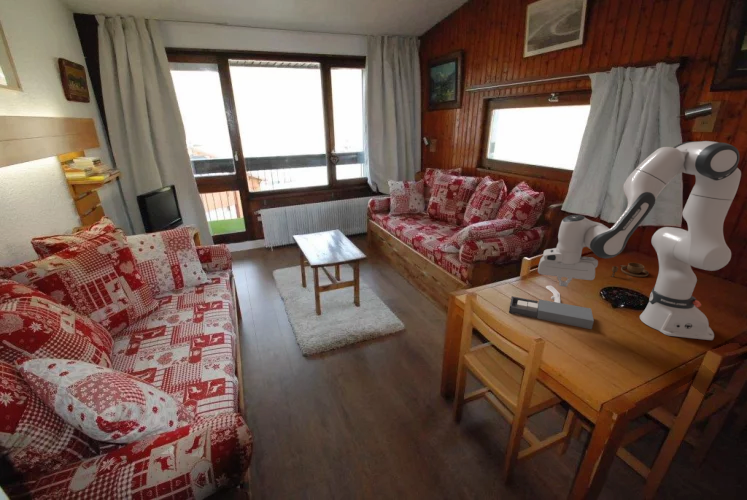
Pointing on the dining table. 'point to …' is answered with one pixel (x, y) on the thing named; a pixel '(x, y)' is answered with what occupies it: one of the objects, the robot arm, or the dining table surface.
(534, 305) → the tile
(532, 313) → the tray
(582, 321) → the long flat grey base
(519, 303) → the tile
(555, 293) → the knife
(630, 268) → the place setting
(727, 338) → the dining table surface
